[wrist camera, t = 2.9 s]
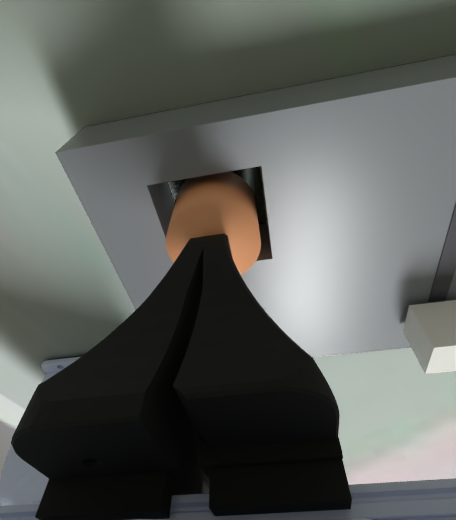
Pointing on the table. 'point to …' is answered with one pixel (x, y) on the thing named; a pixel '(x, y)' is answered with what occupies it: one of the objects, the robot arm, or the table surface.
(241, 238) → the push button
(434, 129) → the control panel
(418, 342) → the slider knob
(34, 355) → the table surface
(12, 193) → the table surface
